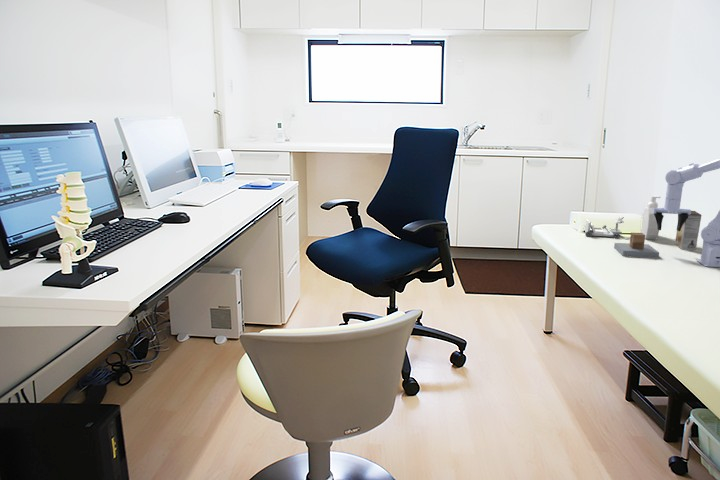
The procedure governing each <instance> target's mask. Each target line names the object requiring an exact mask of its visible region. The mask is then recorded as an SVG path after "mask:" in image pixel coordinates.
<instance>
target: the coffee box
mask: <svg viewBox="0 0 720 480" xmlns="http://www.w3.org/2000/svg"><path fill="white" fill-rule="evenodd" d="M701 221H702V214H701V213H699V212H697V211H695V210H691V214H690V215H688V218H687V219H686V221H685V222H684V224H683V226H682V228H681V230H680V231H677V230H676V235H675V239H674V240H675V242H674V245H675V246H676V247H678V249H681V250H685V251H686V250H687V251H690V250H691V251H696V250H697V247H698V246H697V244H698V238H699V233H700V228H701V227H700V226H701Z"/></svg>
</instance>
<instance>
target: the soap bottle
mask: <svg viewBox="0 0 720 480" xmlns="http://www.w3.org/2000/svg"><path fill="white" fill-rule="evenodd" d="M660 198H661V196H660V195H651V196H650V201H649V202H648V203H647V206H644V208H643V211H642V214H641V215H642V216H641V219H643V220H642V229H641V228H640V233H643V234H644V235H645V241H648V240H649V241H657V240H658V236H659V233H660V230H658V228H657V221H656V218H655V215H654V213H652V210H653V208H659V204H658V202H657V201H656V200H657V199H660Z"/></svg>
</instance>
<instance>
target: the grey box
mask: <svg viewBox="0 0 720 480" xmlns="http://www.w3.org/2000/svg"><path fill="white" fill-rule="evenodd" d="M629 245H630V242H629V243H628V242H625V243H624V242H614V246H613V249H615V250H616V251H617V252H618V254H620V255H621V257H629V256H631V258H651V259H659V256H660V252H659V251H658V250H656V249H655V248H654V247H653V246H651V245H650V244H646V243H644V249H633V248H631V247H630V246H629Z"/></svg>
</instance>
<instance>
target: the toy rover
mask: <svg viewBox="0 0 720 480" xmlns="http://www.w3.org/2000/svg"><path fill="white" fill-rule="evenodd" d="M623 219H624V216H623V217H620V216H619V215H618V216H617V218H616V220H615V228H614V229H611V228H610V229H611V230H610V231H608V230H609V229H608V228H607V225H606V224H604V225H603V226H602V228H601V227H594V225H593V223H592V222H591V221H590V220H589V219H588V218H585V221H586V225H585V224H584V227H585V230H584V231H585V232H584V233H585V237H587V238H588V237H589V238H591V237H592V236H597V237H611V238H613V239H620V237H621V235H622V234H623V233H622V231H621V230H620V229H618V228H619V224H624V221H623ZM590 229H592V230H590Z"/></svg>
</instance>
